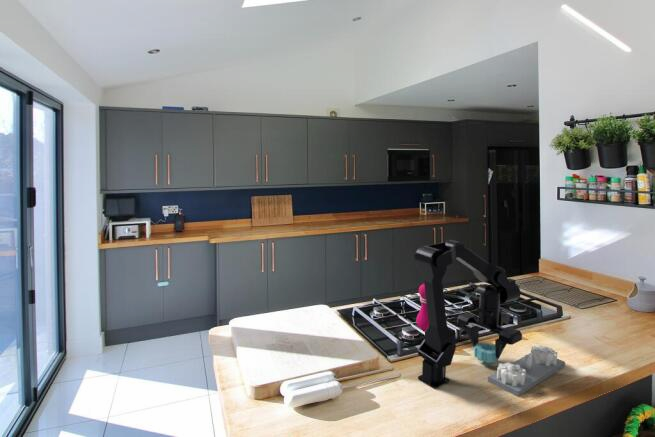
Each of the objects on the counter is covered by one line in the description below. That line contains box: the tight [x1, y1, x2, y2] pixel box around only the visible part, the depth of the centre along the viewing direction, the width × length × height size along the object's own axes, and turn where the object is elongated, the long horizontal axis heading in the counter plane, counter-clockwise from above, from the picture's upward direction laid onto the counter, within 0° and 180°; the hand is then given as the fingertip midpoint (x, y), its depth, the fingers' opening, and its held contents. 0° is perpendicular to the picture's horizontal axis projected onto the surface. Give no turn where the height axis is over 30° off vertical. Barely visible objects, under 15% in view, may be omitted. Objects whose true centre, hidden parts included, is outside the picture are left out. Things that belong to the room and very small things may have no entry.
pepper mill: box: [415, 283, 429, 331], centre depth 144 cm, size 7×7×20 cm
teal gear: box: [473, 341, 500, 364], centre depth 124 cm, size 7×7×3 cm
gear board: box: [487, 344, 566, 397], centre depth 118 cm, size 26×9×6 cm, turn 125°
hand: (486, 353), depth 124 cm, fingers closed on teal gear, 7 cm apart
